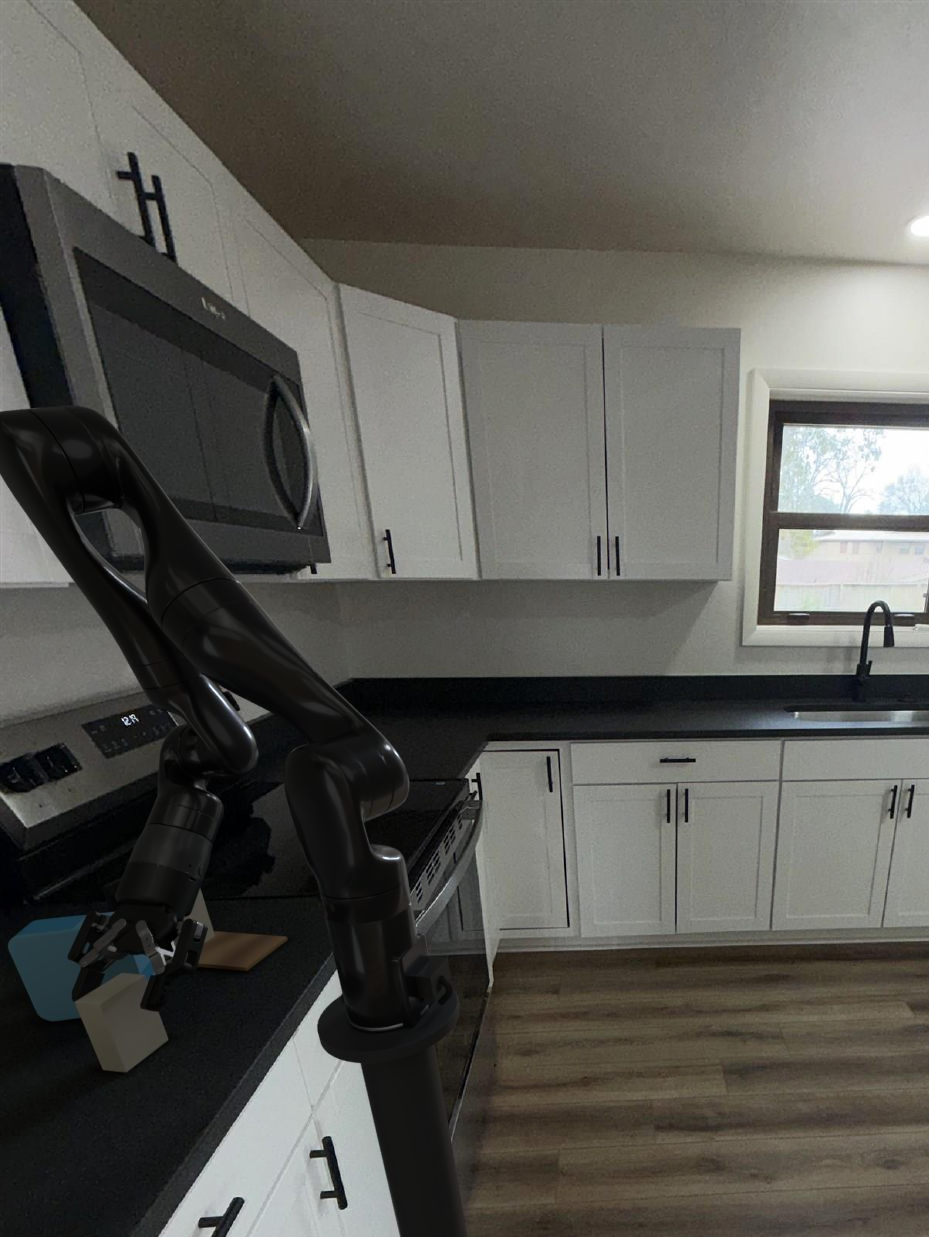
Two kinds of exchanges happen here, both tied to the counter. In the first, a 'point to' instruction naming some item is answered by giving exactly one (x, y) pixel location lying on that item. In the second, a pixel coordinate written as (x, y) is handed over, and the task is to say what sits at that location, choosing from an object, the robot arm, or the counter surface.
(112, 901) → the rack
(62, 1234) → the counter surface
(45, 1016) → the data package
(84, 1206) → the counter surface
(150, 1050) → the beige block
